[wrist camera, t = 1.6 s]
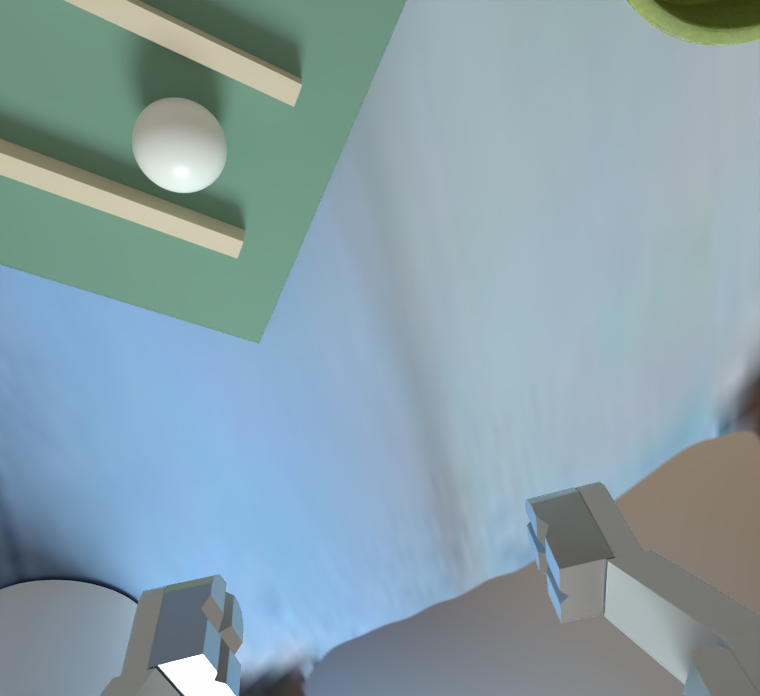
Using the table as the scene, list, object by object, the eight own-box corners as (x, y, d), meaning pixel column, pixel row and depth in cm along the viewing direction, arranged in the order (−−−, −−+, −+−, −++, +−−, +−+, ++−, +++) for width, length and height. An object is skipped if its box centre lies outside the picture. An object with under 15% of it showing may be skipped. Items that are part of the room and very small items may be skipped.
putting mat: (403, -18, 27) (427, -13, 22) (260, 321, 36) (257, 373, 32) (-411, -492, 17) (-658, -652, 13) (-322, 135, 26) (-448, 171, 22)
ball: (216, 189, 29) (207, 219, 25) (133, 156, 27) (112, 184, 24) (241, 112, 27) (235, 133, 24) (154, 73, 25) (134, 90, 22)
